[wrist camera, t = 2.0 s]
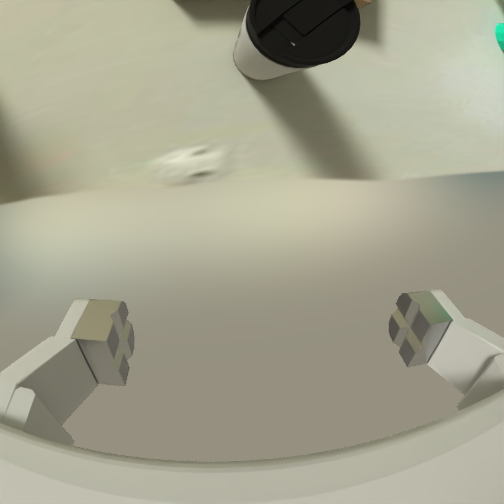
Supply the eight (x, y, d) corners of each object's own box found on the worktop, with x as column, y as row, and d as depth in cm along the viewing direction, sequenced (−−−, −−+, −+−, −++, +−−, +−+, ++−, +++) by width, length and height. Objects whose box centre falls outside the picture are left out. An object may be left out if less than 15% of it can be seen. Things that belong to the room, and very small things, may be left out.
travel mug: (300, 55, 29) (387, 23, 12) (261, 90, 31) (310, 87, 14) (262, 20, 26) (311, -52, 9) (221, 56, 28) (223, 8, 11)
